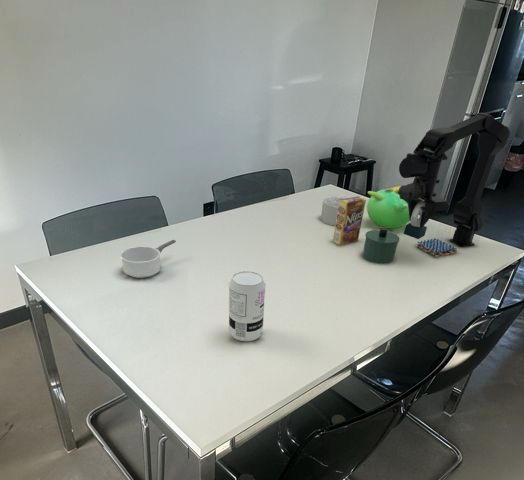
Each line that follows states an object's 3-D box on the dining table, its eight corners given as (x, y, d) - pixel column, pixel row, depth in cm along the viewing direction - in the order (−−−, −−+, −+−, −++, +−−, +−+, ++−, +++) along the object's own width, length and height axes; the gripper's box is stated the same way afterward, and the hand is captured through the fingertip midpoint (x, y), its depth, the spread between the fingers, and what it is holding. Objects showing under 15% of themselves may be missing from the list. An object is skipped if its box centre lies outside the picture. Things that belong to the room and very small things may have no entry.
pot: (382, 250, 159) (386, 230, 155) (399, 262, 152) (404, 241, 148) (357, 253, 156) (360, 233, 152) (373, 265, 148) (377, 245, 144)
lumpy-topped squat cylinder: (343, 228, 175) (347, 205, 170) (315, 220, 181) (317, 197, 176) (356, 221, 181) (360, 199, 176) (328, 213, 188) (331, 192, 183)
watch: (427, 234, 155) (436, 202, 148) (415, 240, 150) (425, 208, 143) (412, 228, 157) (421, 197, 150) (400, 235, 153) (409, 202, 146)
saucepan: (189, 261, 144) (188, 244, 141) (141, 284, 130) (139, 266, 127) (162, 251, 149) (161, 235, 146) (113, 272, 135) (111, 254, 132)
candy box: (340, 246, 160) (347, 202, 151) (332, 241, 163) (338, 198, 154) (358, 241, 165) (366, 199, 156) (350, 237, 167) (357, 195, 159)
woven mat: (436, 258, 156) (437, 252, 155) (414, 246, 163) (415, 241, 162) (458, 253, 160) (459, 248, 159) (435, 242, 167) (437, 237, 166)
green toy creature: (415, 225, 181) (425, 187, 173) (401, 238, 169) (411, 198, 161) (372, 215, 189) (379, 178, 180) (356, 226, 177) (363, 188, 168)
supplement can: (228, 324, 115) (228, 270, 106) (261, 324, 116) (264, 270, 107) (229, 343, 108) (229, 286, 100) (263, 342, 109) (267, 286, 101)
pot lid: (386, 231, 156) (388, 221, 154) (405, 244, 148) (408, 233, 146) (358, 234, 153) (360, 224, 150) (376, 247, 144) (378, 236, 142)
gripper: (389, 168, 147) (379, 216, 156) (425, 185, 133) (413, 236, 142) (418, 166, 150) (407, 213, 160) (456, 182, 136) (442, 233, 146)
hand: (416, 223), depth 152 cm, fingers closed on watch, 5 cm apart
